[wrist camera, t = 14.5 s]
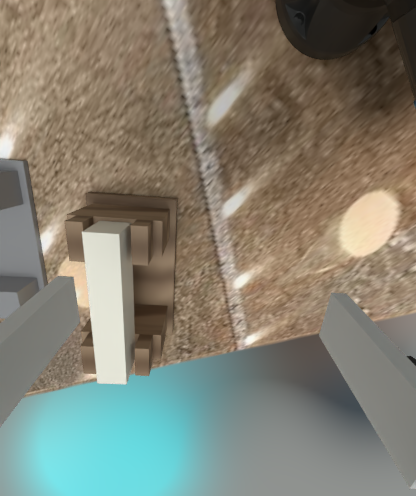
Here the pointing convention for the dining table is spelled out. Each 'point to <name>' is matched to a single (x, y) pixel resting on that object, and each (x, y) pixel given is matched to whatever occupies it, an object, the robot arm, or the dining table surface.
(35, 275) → the stand
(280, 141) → the dining table surface
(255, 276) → the dining table surface
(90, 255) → the white rectangular bar
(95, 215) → the notched wooden cradle
